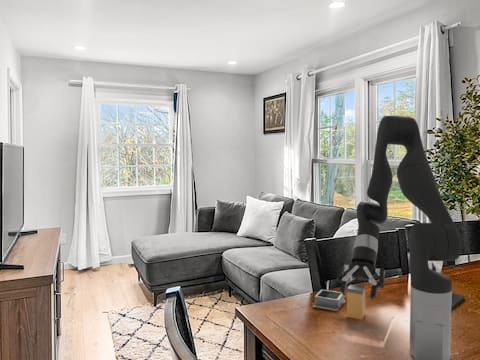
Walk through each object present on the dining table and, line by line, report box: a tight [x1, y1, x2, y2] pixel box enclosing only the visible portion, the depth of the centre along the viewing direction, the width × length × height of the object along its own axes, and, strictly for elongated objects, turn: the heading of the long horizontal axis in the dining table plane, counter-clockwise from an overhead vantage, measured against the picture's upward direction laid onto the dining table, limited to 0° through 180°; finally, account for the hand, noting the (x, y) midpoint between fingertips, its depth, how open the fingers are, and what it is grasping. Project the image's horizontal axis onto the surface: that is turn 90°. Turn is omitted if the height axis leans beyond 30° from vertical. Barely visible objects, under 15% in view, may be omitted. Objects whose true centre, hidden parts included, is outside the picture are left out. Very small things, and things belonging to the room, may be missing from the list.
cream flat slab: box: [312, 299, 346, 312], centre depth 132 cm, size 10×8×1 cm
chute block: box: [346, 283, 366, 320], centre depth 122 cm, size 4×4×10 cm
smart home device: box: [451, 292, 466, 311], centre depth 134 cm, size 8×2×20 cm
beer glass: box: [428, 261, 444, 273], centre depth 151 cm, size 7×7×15 cm
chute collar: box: [314, 289, 345, 310], centre depth 132 cm, size 8×8×3 cm
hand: (357, 296), depth 123 cm, fingers open, 8 cm apart
